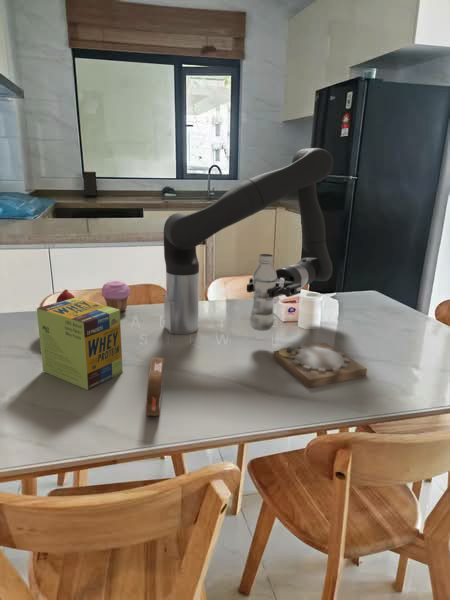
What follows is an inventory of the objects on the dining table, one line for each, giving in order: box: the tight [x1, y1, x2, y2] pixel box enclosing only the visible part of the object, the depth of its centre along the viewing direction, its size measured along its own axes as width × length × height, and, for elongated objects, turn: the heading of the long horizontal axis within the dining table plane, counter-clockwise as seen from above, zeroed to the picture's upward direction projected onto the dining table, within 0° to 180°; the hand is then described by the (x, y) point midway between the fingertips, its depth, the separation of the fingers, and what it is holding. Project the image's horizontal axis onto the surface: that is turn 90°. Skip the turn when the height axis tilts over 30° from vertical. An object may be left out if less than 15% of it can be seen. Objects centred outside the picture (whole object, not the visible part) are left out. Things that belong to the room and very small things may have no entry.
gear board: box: [272, 342, 368, 389], centre depth 105 cm, size 16×16×4 cm
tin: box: [145, 356, 165, 416], centre depth 87 cm, size 15×3×8 cm, turn 5°
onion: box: [55, 288, 76, 303], centre depth 135 cm, size 6×6×8 cm
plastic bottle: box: [249, 253, 277, 332], centre depth 112 cm, size 6×7×20 cm
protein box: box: [36, 297, 124, 391], centre depth 97 cm, size 10×15×16 cm
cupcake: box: [101, 280, 131, 313], centre depth 139 cm, size 9×9×10 cm
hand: (259, 291), depth 110 cm, fingers closed on plastic bottle, 6 cm apart
